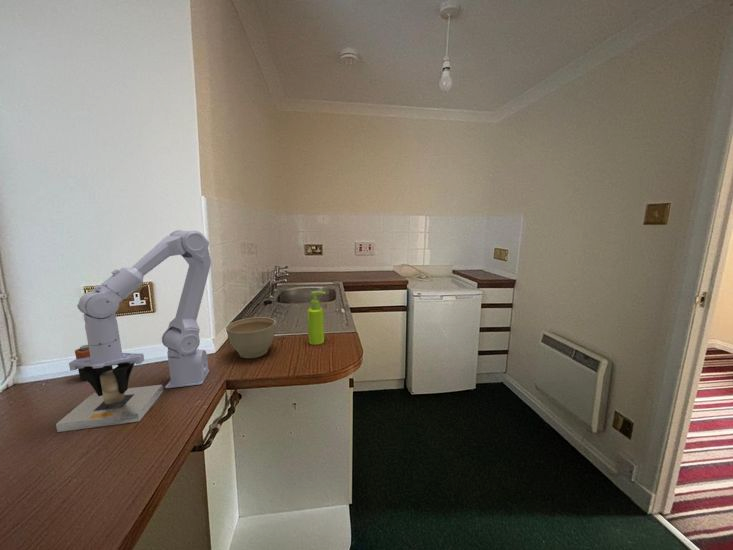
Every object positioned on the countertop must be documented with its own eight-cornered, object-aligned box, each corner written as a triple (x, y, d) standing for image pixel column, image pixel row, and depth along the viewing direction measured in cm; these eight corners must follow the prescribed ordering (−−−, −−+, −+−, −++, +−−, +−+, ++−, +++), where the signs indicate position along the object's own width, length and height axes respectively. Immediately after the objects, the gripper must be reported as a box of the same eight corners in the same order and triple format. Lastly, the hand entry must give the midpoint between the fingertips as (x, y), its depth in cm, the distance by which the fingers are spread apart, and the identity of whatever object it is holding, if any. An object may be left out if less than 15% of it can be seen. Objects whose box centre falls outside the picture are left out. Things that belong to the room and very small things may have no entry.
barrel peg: (127, 393, 77) (123, 368, 75) (120, 402, 73) (116, 376, 72) (108, 396, 75) (104, 371, 74) (100, 405, 72) (95, 378, 70)
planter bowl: (269, 340, 117) (267, 314, 115) (283, 355, 104) (281, 325, 102) (225, 350, 108) (222, 322, 106) (234, 368, 95) (231, 336, 93)
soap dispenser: (325, 344, 113) (323, 293, 109) (307, 344, 113) (305, 293, 110) (327, 338, 119) (326, 289, 115) (310, 338, 119) (308, 289, 115)
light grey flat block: (163, 391, 82) (162, 384, 82) (139, 421, 70) (137, 413, 70) (95, 399, 79) (94, 391, 79) (57, 432, 66) (55, 423, 66)
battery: (79, 378, 90) (73, 347, 88) (106, 368, 96) (101, 339, 94) (86, 381, 88) (80, 349, 86) (113, 371, 94) (108, 341, 92)
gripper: (54, 350, 66) (66, 406, 68) (130, 344, 69) (138, 397, 71) (77, 338, 73) (87, 389, 75) (145, 333, 76) (152, 382, 78)
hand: (113, 392), depth 74 cm, fingers closed on barrel peg, 4 cm apart
